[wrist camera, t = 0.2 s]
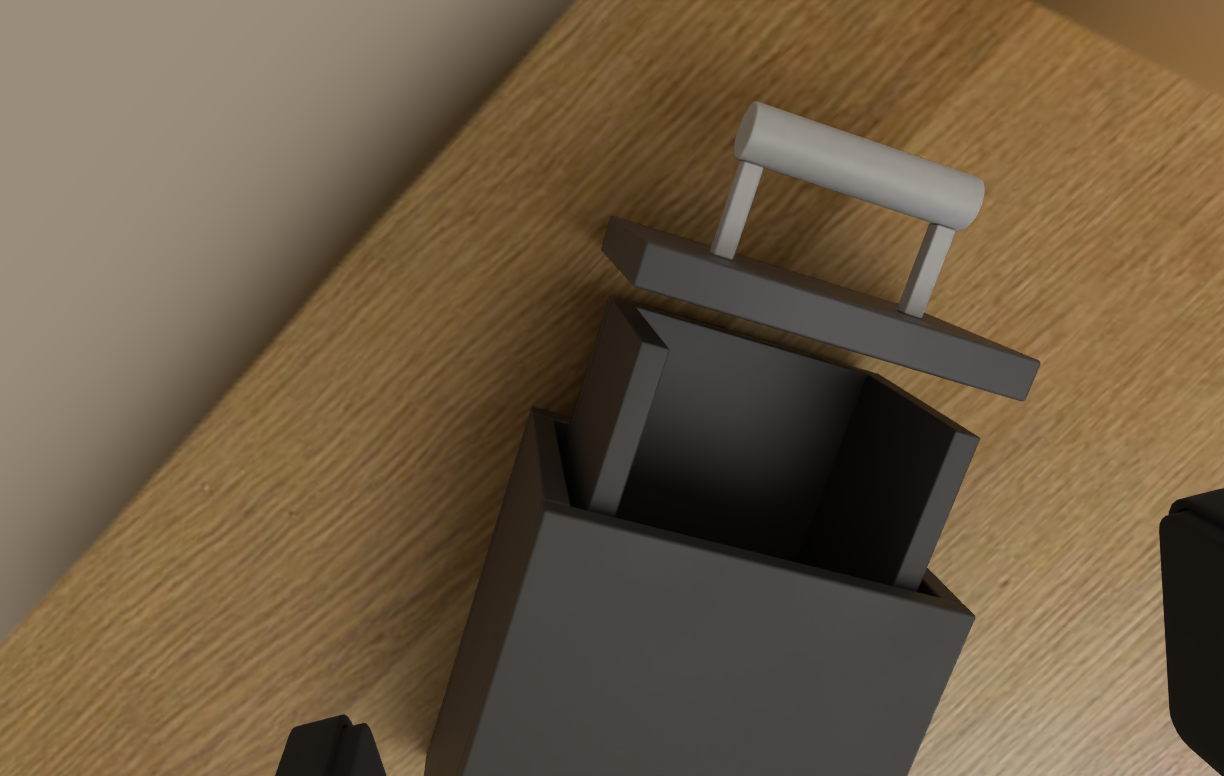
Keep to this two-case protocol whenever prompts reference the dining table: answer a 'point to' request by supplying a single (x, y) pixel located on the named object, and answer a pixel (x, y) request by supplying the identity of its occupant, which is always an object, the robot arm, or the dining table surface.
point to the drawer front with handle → (786, 377)
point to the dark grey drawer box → (679, 651)
